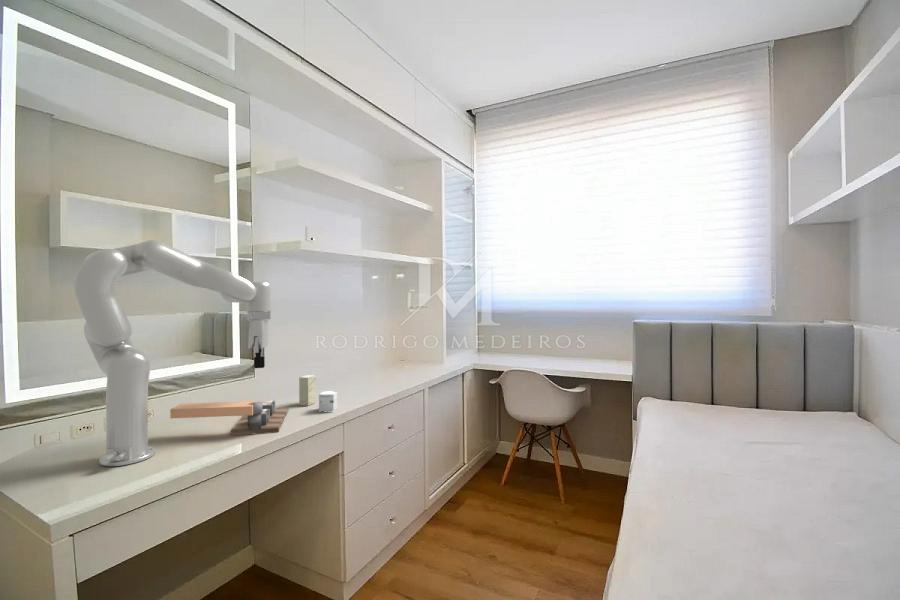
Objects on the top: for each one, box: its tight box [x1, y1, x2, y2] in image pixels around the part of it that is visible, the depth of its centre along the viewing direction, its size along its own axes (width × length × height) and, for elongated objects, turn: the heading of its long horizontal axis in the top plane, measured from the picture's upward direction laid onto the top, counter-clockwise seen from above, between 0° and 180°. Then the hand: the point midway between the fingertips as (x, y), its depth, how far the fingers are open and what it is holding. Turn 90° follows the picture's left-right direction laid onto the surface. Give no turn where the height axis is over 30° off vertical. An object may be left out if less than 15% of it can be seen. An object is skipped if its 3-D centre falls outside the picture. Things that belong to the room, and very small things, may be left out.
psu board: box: [230, 400, 289, 436], centre depth 152 cm, size 27×15×7 cm, turn 14°
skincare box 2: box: [318, 390, 338, 413], centre depth 169 cm, size 6×6×7 cm
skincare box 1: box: [298, 374, 316, 407], centre depth 179 cm, size 6×4×12 cm
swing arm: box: [169, 400, 263, 419], centre depth 139 cm, size 27×7×3 cm, turn 99°
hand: (259, 367), depth 148 cm, fingers closed
